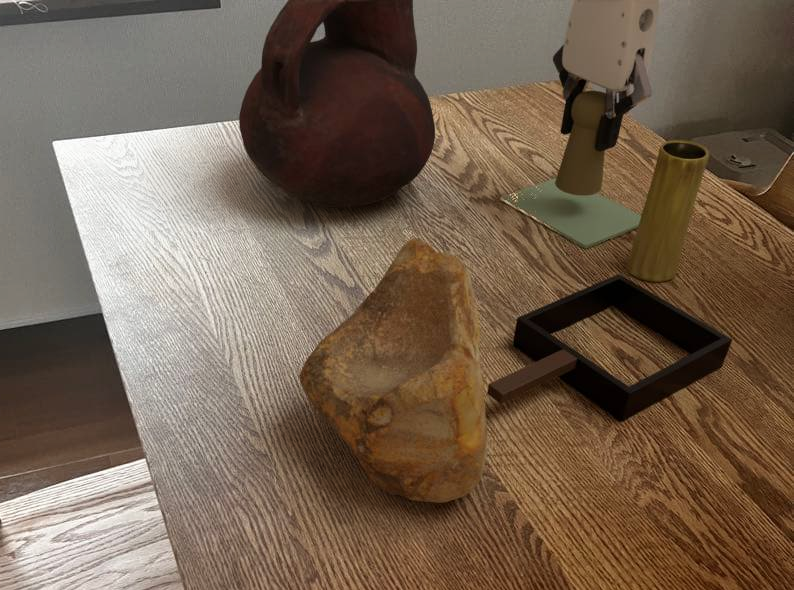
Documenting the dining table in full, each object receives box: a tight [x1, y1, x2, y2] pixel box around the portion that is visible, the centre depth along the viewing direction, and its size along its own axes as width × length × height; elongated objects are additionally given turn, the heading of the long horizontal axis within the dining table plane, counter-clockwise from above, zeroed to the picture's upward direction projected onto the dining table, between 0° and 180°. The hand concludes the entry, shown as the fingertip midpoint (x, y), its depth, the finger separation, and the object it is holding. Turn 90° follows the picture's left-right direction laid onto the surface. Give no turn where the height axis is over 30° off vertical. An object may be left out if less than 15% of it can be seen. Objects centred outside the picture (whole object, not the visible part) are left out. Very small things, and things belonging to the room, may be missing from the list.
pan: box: [486, 273, 733, 423], centre depth 84 cm, size 26×16×4 cm, turn 127°
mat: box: [501, 177, 642, 250], centre depth 109 cm, size 12×16×1 cm
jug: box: [238, 0, 436, 208], centre depth 103 cm, size 25×25×25 cm
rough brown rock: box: [299, 237, 488, 503], centre depth 73 cm, size 23×17×15 cm
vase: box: [624, 139, 710, 283], centre depth 94 cm, size 6×6×14 cm
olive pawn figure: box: [555, 90, 606, 196], centre depth 103 cm, size 6×6×11 cm
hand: (587, 138), depth 102 cm, fingers closed on olive pawn figure, 5 cm apart
